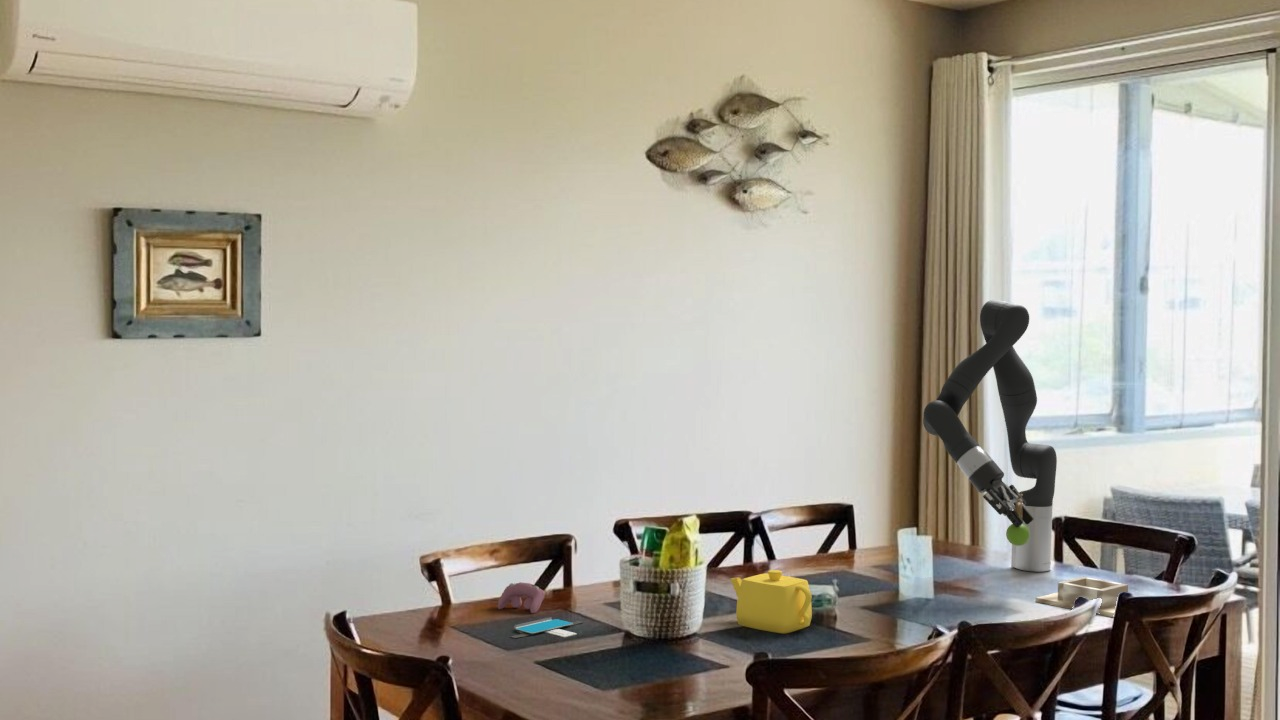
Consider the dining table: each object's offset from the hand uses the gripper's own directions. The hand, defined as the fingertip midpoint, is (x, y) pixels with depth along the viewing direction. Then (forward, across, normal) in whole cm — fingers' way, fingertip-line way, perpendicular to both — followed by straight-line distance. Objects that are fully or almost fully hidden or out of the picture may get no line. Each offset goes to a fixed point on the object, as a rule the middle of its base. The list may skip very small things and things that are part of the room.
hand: (1025, 523), depth 323 cm
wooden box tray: (+23, +4, +2) cm, 24 cm away
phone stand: (-30, -101, +56) cm, 119 cm away
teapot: (-9, -64, +34) cm, 73 cm away
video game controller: (-43, -91, +68) cm, 121 cm away
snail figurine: (+3, 0, +5) cm, 6 cm away
